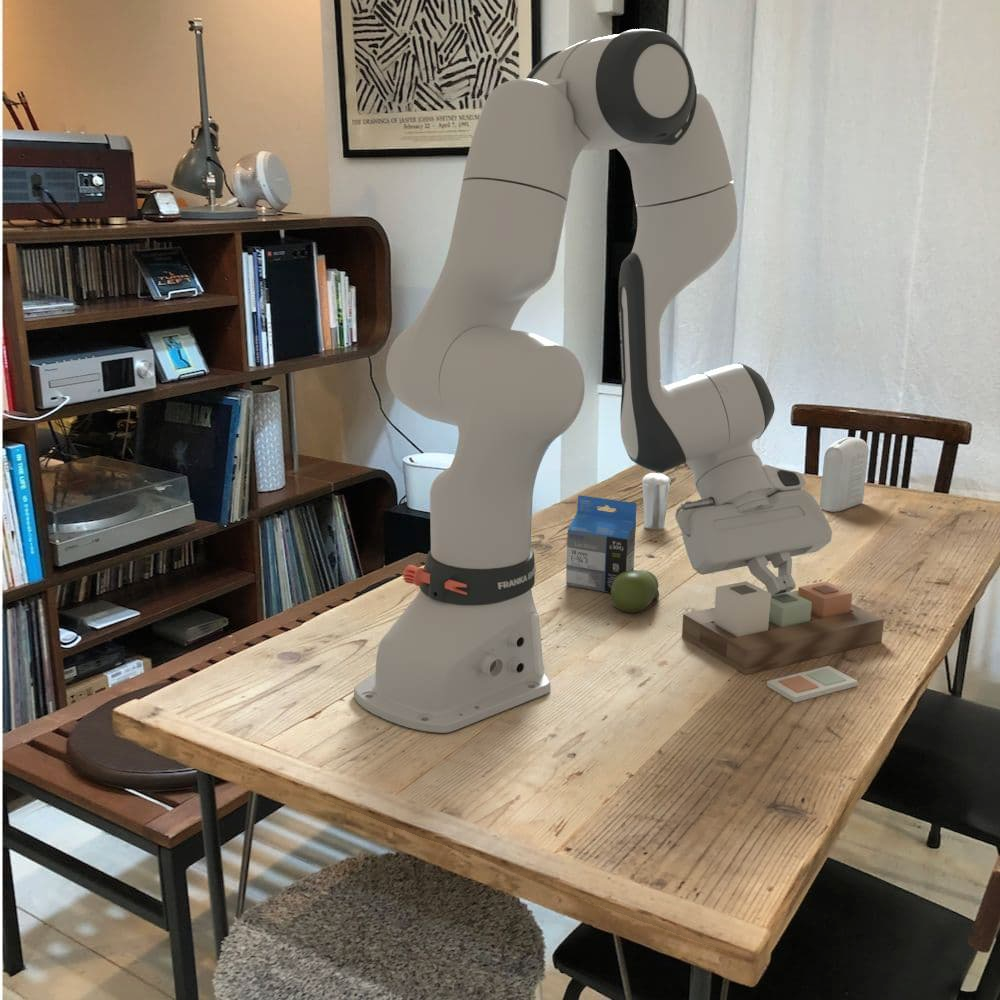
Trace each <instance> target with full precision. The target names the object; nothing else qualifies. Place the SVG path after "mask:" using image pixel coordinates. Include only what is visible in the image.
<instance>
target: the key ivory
mask: <svg viewBox="0 0 1000 1000" xmlns="http://www.w3.org/2000/svg"><path fill="white" fill-rule="evenodd" d="M770 601H771V593H769V592H768V590H765V589H763V588H761V587H759V586H756V585H755V584H753V583H750V582H749V581H740V582H735V583H729V584H726V585H721V586H720V585H719V586H716V587H715V599H714V608H715V611H714V624H715V625H717V626H719V627H720V628H722V629H724V630H726V631H728V632H729V633H731V634H733V635H735V636H736V637H740V636H745V635H749V634H754V633H758V632H763V631H767V630H768V625H769V613H770Z"/></svg>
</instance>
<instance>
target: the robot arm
mask: <svg viewBox="0 0 1000 1000" xmlns="http://www.w3.org/2000/svg"><path fill="white" fill-rule="evenodd" d="M694 76H695V75H694V71H693V69H692V66H691V62H690V61H689V58H688V57H687V55H686V52H685V51H684V49H683V47H682V46H681V45H680V44H679V43H678V41H677V40H676V39H675V38H673V36H671V35H670V34H667V33H666V32H664V31H660V30H655V29H649V28H639V29H638V28H637V29H636V28H635V29H629V30H626V31H623V32H621V33H619V34H612V35H607V36H603V37H592V38H589V39H586V40H583V41H580V42H578V43H576V44H573V45H571V46H569V47H566V48H565V49H563V50H558V51H555V52H552V53H551V54H549V55H547V56H546V57H544V58H543V59H541V60H540V61H539V62H538V63H537V64H535V66H534V67H533V68H532V69H531V70H530V72H529V73H528V74H527V76H526V78H517V79H511V80H507V81H505V82H503V83H501V84H498V85H497V86H496V87H495V88H494V89H493V90H491V92H490V93H489V95H488V96H487V98H486V100H485V102H484V105H483V107H482V110H481V112H480V115H479V116H478V117H479V118H478V121H477V123H476V127H475V129H474V133H473V135H472V136H473V137H472V139H471V142H470V146H469V150H468V154H467V158H466V162H465V166H464V173H463V178H462V181H461V187H460V192H459V193H460V194H459V197H458V198H459V199H458V203H457V209H456V214H455V219H454V222H453V223H454V225H453V229H452V233H451V234H452V235H451V239H450V243H449V244H450V245H449V246H448V247H449V249H448V251H447V255H446V257H445V262H444V265H443V267H442V269H441V271H440V274H439V276H438V280H437V282H435V283H436V284H435V285H434V288H433V290H432V292H431V293H430V295H429V298H427V299H428V300H427V301H426V303H425V305H424V307H423V308H422V310H421V312H420V313H419V315H418V316H417V318H416V319H415V320H414V321H413V322H412V323H411V324H410V325H409V326H408V327H407V328H406V329H404V330H403V331H402V332H400V333H399V335H398V336H397V337H396V338H395V339H394V341H393V342H392V344H391V346H390V349H389V350H388V353H387V357H386V363H385V364H386V365H385V375H386V381H387V383H388V387H389V388H390V389H389V390H391V393H392V394H393V395H394V397H395V398H396V399H397V400H398V401H399V402H401V403H402V404H403V405H405V406H406V407H408V408H409V409H410V410H412V411H414V412H415V413H417V414H418V415H421V416H422V417H424V418H426V419H429V420H431V421H432V420H433V421H436V422H440V423H443V424H447V425H452V426H455V427H457V431H458V439H457V440H458V441H457V445H456V451H455V453H454V458H453V460H452V462H451V465H450V467H447V468H446V469H445V470H443V471H442V472H441V473H439V474H438V475H437V476H436V477H435V479H434V480H433V482H432V484H431V487H430V490H429V503H430V504H429V508H430V509H429V510H430V513H429V514H430V515H429V516H430V517H429V518H430V519H429V521H430V523H429V524H430V550H429V551H428V552H427V555H426V559H425V562H424V567H418V566H416V565H413V564H408V565H407V566H405V568H404V570H403V571H402V574H403V575H402V579H403V581H404V583H406V584H411V585H412V584H414V585H415V586H416V587H419V589H420V590H419V591H418V593H417V594H416V596H415V597H414V598H413V600H412V601H411V602H410V603H409V604H408V605H407V606H406V608H405V610H404V611H403V612H402V613H401V615H400V616H399V618H398V619H397V620H396V621H395V622H394V624H393V625H392V626H391V627H390V629H388V631H387V632H386V634H385V635H384V636H383V637H382V639H381V640H380V642H379V645H378V648H377V652H376V653H377V654H376V659H375V660H376V661H375V671H374V672H373V673H372V674H370V675H369V676H367V677H366V678H364V679H363V680H362V681H360V682H359V683H358V684H357V685H355V686H354V687H353V697H354V699H355V701H356V702H357V704H359V705H360V706H361V707H362V708H364V709H365V710H366V711H368V712H369V713H371V714H373V715H374V716H377V717H380V718H381V719H384V720H385V721H388V722H391V723H394V724H396V725H398V726H403V727H405V728H410V729H413V730H415V731H416V730H418V731H423V732H430V733H445V734H447V733H450V732H454V731H457V730H460V729H461V728H464V727H466V726H469V725H471V724H475V723H478V722H479V721H482V720H484V719H487V718H489V717H492V716H494V715H497V714H500V713H502V712H505V711H507V710H509V709H511V708H512V709H513V708H515V707H517V706H520V705H522V704H525V703H526V702H529V701H532V700H534V699H537V698H539V697H542V696H544V695H547V694H549V693H550V691H551V690H552V689H551V681H550V678H549V677H548V675H547V674H545V667H544V659H543V647H542V646H543V645H542V635H541V626H540V625H541V623H540V617H539V614H538V612H537V611H538V610H537V609H536V605H535V602H534V598H533V593H532V592H533V591H532V588H533V587H534V585H535V581H536V580H535V579H536V577H535V575H536V570H537V569H536V567H537V566H536V564H535V562H536V561H535V552H534V551H533V549H531V548H532V547H531V546H532V521H533V519H532V518H533V497H534V488H535V483H536V479H537V474H538V471H539V468H540V466H541V464H542V461H543V458H544V456H545V454H546V452H547V451H548V449H549V447H550V446H551V444H552V443H553V442H555V440H556V439H557V438H559V437H560V436H561V435H563V434H564V433H565V432H566V431H568V429H570V428H571V426H572V425H573V423H574V422H575V421H576V419H577V417H578V415H579V413H580V412H581V409H582V406H583V402H584V397H585V389H586V388H585V384H586V383H585V376H584V372H583V368H582V365H581V363H580V362H579V359H578V358H577V357H576V355H575V354H574V353H573V352H572V351H571V350H570V349H568V348H566V347H565V346H563V345H561V344H559V343H557V342H555V341H553V340H550V339H549V338H546V337H543V336H541V335H539V334H537V333H533V332H530V331H522V330H516V329H512V327H513V324H514V322H515V320H516V318H517V316H518V314H519V312H520V311H521V309H522V307H523V306H524V304H525V303H526V302H527V301H528V300H529V298H531V296H533V295H534V294H535V293H537V292H538V291H540V290H541V289H542V288H543V287H545V286H546V285H547V284H548V282H549V281H550V280H551V278H552V276H553V274H554V272H555V268H556V263H557V259H558V258H557V257H558V253H559V248H560V244H561V243H560V242H561V238H562V233H563V227H564V222H565V217H566V210H567V206H568V201H569V197H570V196H569V194H570V189H571V184H572V183H571V182H572V173H573V169H574V166H575V164H576V161H577V160H578V157H579V156H580V154H581V152H582V151H591V150H593V151H594V150H596V151H597V150H598V151H610V150H617V151H618V152H619V153H620V154H621V156H622V157H623V159H624V160H625V162H626V164H627V166H628V168H629V171H630V177H631V178H630V179H631V184H632V191H633V196H634V201H635V208H636V214H637V226H636V227H637V228H636V234H635V238H634V243H633V246H632V250H631V252H630V253H629V254H628V255H627V256H626V258H624V259H623V261H622V262H621V265H620V270H619V276H618V277H619V278H618V323H619V325H618V327H619V328H618V329H619V346H620V347H619V349H620V350H619V351H620V371H621V374H620V375H621V400H620V401H621V402H620V414H619V415H620V419H619V420H620V435H621V439H622V444H623V446H624V449H625V451H626V453H627V455H628V457H629V459H630V461H632V462H634V463H635V464H636V465H639V466H641V468H645V469H647V470H650V471H652V472H654V473H658V474H663V473H665V472H668V471H670V470H672V469H675V468H677V467H679V466H681V465H683V464H686V465H687V466H688V467H689V468H690V470H691V473H692V475H693V481H694V482H693V483H694V486H695V488H696V490H697V492H698V495H699V497H700V499H698V500H693V501H684V502H682V503H681V504H680V506H678V508H677V509H676V511H675V515H674V516H675V520H676V522H677V526H678V527H679V529H680V531H681V535H682V541H683V542H684V547H685V549H686V553H687V556H688V559H689V562H690V564H691V567H692V569H693V570H695V571H696V573H698V574H700V575H703V576H704V575H709V574H713V573H718V572H723V571H728V570H732V569H738V568H743V567H747V569H748V570H749V572H750V574H751V575H752V576H753V577H755V578H756V579H757V580H758V581H760V583H762V584H763V585H764V586H765V589H766V591H767V592H769V593H771V596H773V595H777V594H781V593H786V592H793V590H794V589H796V586H797V585H796V583H795V580H794V578H793V576H792V571H793V570H792V569H793V558H792V557H798V556H803V555H807V554H811V553H812V554H813V553H817V552H819V551H820V550H822V549H824V547H826V546H827V545H828V544H830V543H831V542H832V536H833V530H832V528H831V525H830V523H829V521H828V519H827V517H826V515H825V513H824V511H823V509H822V508H821V507H820V503H818V501H817V499H816V498H815V496H813V494H812V493H810V492H809V491H807V490H804V487H805V486H806V485H807V483H806V482H807V481H806V479H805V477H804V475H803V474H802V473H801V472H800V471H795V470H790V469H789V470H788V469H784V468H781V467H776V466H772V465H769V464H765V463H764V464H763V461H762V459H761V458H760V456H759V455H758V454H757V453H756V451H755V450H754V448H753V443H754V441H755V440H758V439H760V438H761V436H762V435H763V434H764V433H765V431H766V429H767V428H768V426H769V424H770V422H771V421H772V419H773V416H774V414H775V409H776V408H775V402H774V399H773V396H772V394H771V391H770V389H769V387H768V385H767V383H766V381H765V379H764V378H763V376H762V375H761V374H759V373H758V372H757V371H756V370H754V369H753V368H752V367H750V366H748V365H746V364H744V363H740V362H738V363H733V364H728V365H724V366H720V367H718V368H717V367H716V368H714V369H711V370H707V371H704V372H700V373H698V374H695V375H690V376H688V377H686V378H684V379H681V380H677V381H674V382H671V383H668V384H664V385H662V376H661V375H662V373H661V369H662V368H661V343H660V339H661V338H660V328H661V327H660V326H661V320H662V317H663V314H664V312H665V310H666V309H667V307H668V306H669V304H670V303H671V302H672V301H673V300H674V299H675V298H676V297H677V295H679V294H680V293H681V292H682V291H683V290H684V289H685V288H686V287H687V286H689V285H691V284H692V283H693V282H694V281H695V280H697V279H698V278H699V277H701V276H702V275H704V274H705V273H706V272H708V271H709V270H710V269H711V268H712V267H714V265H715V264H717V262H718V261H720V259H721V258H722V257H723V256H724V254H725V253H726V251H728V249H729V246H730V245H731V243H732V241H733V240H734V238H735V234H736V233H737V229H738V207H737V206H738V205H737V198H736V191H735V185H734V180H733V175H732V171H731V170H732V169H731V165H730V160H729V157H728V152H727V147H726V145H725V142H724V138H723V134H722V132H721V128H720V125H719V122H718V119H717V117H716V114H715V113H714V110H713V106H712V105H711V103H710V101H709V100H708V98H707V97H706V96H705V95H704V94H702V93H700V92H698V91H697V84H696V81H695V77H694ZM769 562H771V564H772V567H773V569H777V572H778V574H777V575H778V576H776V575H775V574H774V572H773V571H771V569H769V568H768V567H767V566H768V565H769Z"/></svg>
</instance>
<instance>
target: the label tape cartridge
mask: <svg viewBox="0 0 1000 1000" xmlns="http://www.w3.org/2000/svg"><path fill="white" fill-rule="evenodd" d="M605 506H608V508H610V509H615V510H616V511H615V512H613V511H608V510H607V511H606V510H600V509H598V507H602V508H604V507H605ZM636 527H637V502H634V501H626V500H625V501H623V500H616V499H611V498H610V499H609V498H602V497H595V496H588V495H582V494H581V495H580V494H578V495H577V508H576V512H575V515H574V517H573V519H572V521H571V523H570V525H569V526H568V529H567V535H566V537H567V539H566V569H565V570H566V575H565V578H566V579H565V581H566V583H565V584H566V586H567V587H568V586H569V587H574V588H580V589H586V590H592V591H598V592H603V593H610V594H611V587H612V584H613V581H614V580H615V578H616V577H617V576H618V575H619V574H621V573H623V572H626V571H632V570H634V569H635V549H636V532H637V531H636V529H637V528H636Z"/></svg>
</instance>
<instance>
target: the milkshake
mask: <svg viewBox="0 0 1000 1000" xmlns="http://www.w3.org/2000/svg"><path fill="white" fill-rule="evenodd" d="M674 473H675V471H673V472H672V473H671V475H670V477H669V476H667V475H665V474H663V473H659V472H650V473H648V474H645V476H643V478H642V482H641V483H642V498H643V499H642V501H643V526H644V527H643V528H645V529H646V530H650V531H660V530H663V529H664V528H665V525H666V524H665V523H666V515H667V507H668V502H669V501H668V500H669V493H670V486H671V479H672V478H673V476H674Z"/></svg>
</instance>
